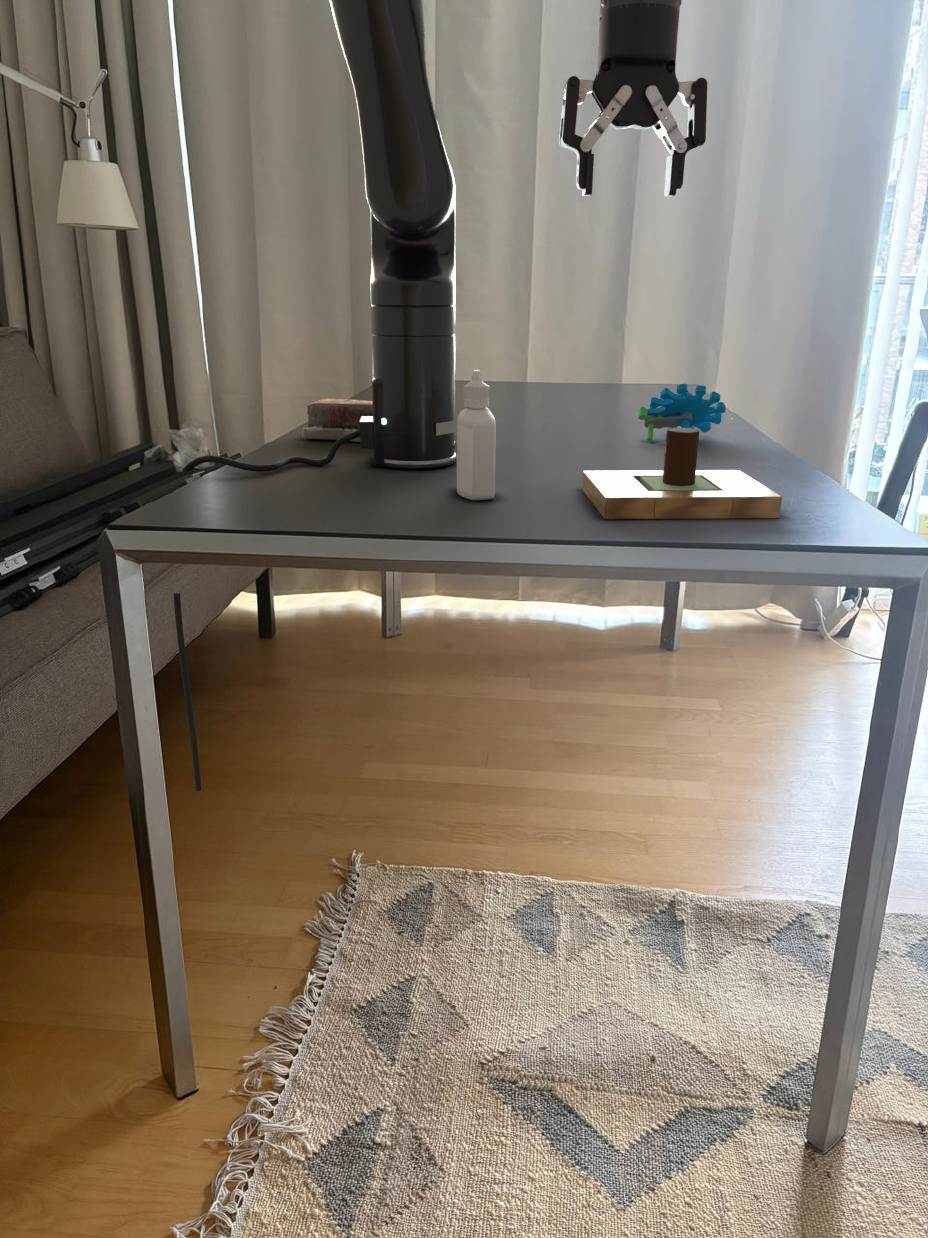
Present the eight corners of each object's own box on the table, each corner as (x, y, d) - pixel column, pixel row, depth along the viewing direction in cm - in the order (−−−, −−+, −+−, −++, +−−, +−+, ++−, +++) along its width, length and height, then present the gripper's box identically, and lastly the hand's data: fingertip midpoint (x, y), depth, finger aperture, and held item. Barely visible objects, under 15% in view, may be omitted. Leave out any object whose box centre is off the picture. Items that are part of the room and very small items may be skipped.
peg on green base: (653, 510, 87) (659, 435, 84) (638, 496, 92) (644, 424, 90) (716, 510, 87) (724, 434, 84) (698, 495, 93) (705, 424, 90)
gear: (728, 424, 125) (722, 375, 117) (727, 460, 123) (721, 413, 114) (645, 431, 129) (634, 384, 121) (643, 466, 127) (631, 421, 118)
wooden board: (604, 519, 84) (605, 497, 83) (582, 490, 95) (583, 470, 94) (779, 518, 84) (782, 496, 84) (737, 489, 96) (739, 469, 95)
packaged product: (297, 402, 120) (326, 393, 129) (300, 440, 122) (328, 428, 131) (432, 407, 116) (452, 397, 125) (432, 446, 118) (452, 434, 127)
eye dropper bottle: (447, 500, 90) (447, 372, 86) (459, 487, 95) (460, 367, 91) (491, 502, 89) (494, 373, 85) (502, 490, 95) (504, 368, 90)
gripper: (702, 20, 93) (687, 199, 98) (559, 18, 92) (553, 197, 98) (725, 0, 86) (708, 193, 91) (571, -3, 85) (564, 192, 91)
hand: (628, 195), depth 95 cm, fingers open, 8 cm apart
